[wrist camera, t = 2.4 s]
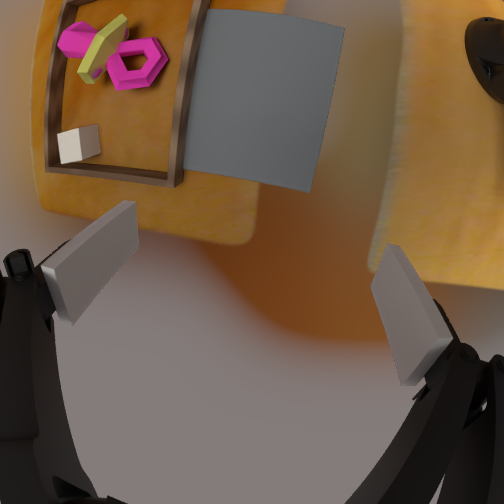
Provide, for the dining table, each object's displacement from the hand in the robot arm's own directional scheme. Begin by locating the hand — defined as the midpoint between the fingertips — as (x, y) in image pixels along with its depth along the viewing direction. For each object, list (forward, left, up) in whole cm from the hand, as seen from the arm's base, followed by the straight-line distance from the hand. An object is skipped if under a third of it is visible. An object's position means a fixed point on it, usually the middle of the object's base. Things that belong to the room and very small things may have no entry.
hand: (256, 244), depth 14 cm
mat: (-8, -4, -25) cm, 27 cm away
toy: (-14, -25, -25) cm, 38 cm away
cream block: (+1, -31, -25) cm, 40 cm away
